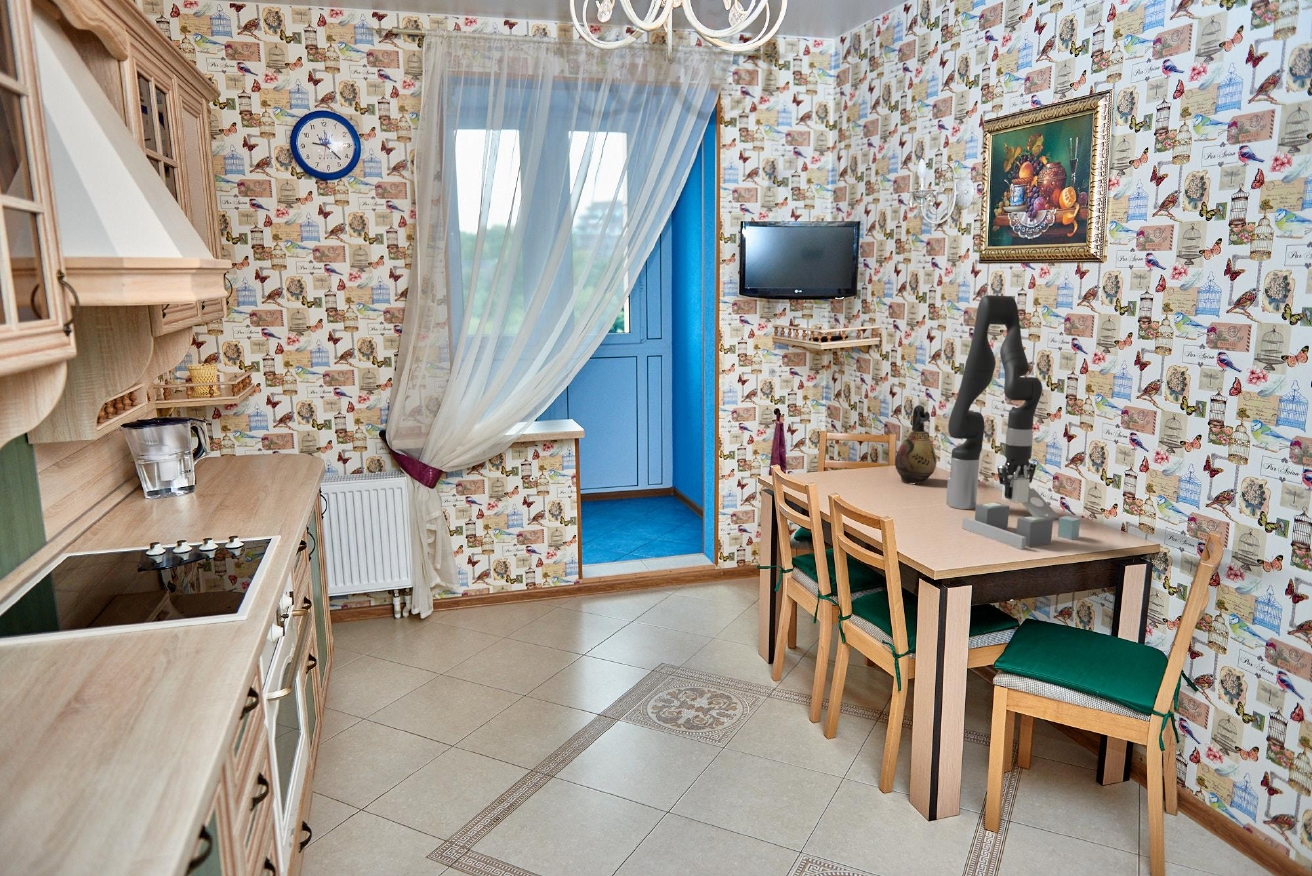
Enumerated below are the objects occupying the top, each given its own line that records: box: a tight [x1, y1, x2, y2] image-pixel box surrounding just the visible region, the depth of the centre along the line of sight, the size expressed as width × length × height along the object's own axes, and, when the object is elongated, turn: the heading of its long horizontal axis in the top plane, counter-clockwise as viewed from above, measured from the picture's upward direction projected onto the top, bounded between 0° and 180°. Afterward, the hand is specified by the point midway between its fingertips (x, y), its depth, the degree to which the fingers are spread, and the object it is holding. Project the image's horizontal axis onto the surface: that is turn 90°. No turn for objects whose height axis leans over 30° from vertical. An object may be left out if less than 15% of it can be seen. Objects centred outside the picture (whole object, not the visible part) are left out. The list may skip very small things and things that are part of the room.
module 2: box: [1057, 515, 1081, 541], centre depth 270 cm, size 4×4×6 cm
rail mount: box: [961, 502, 1054, 550], centre depth 271 cm, size 24×13×8 cm, turn 24°
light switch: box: [1021, 487, 1060, 520], centre depth 296 cm, size 8×6×14 cm
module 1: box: [1001, 475, 1030, 504], centre depth 269 cm, size 6×4×7 cm
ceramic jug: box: [894, 404, 937, 485], centre depth 343 cm, size 17×15×30 cm
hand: (1014, 497), depth 270 cm, fingers closed on module 1, 4 cm apart
